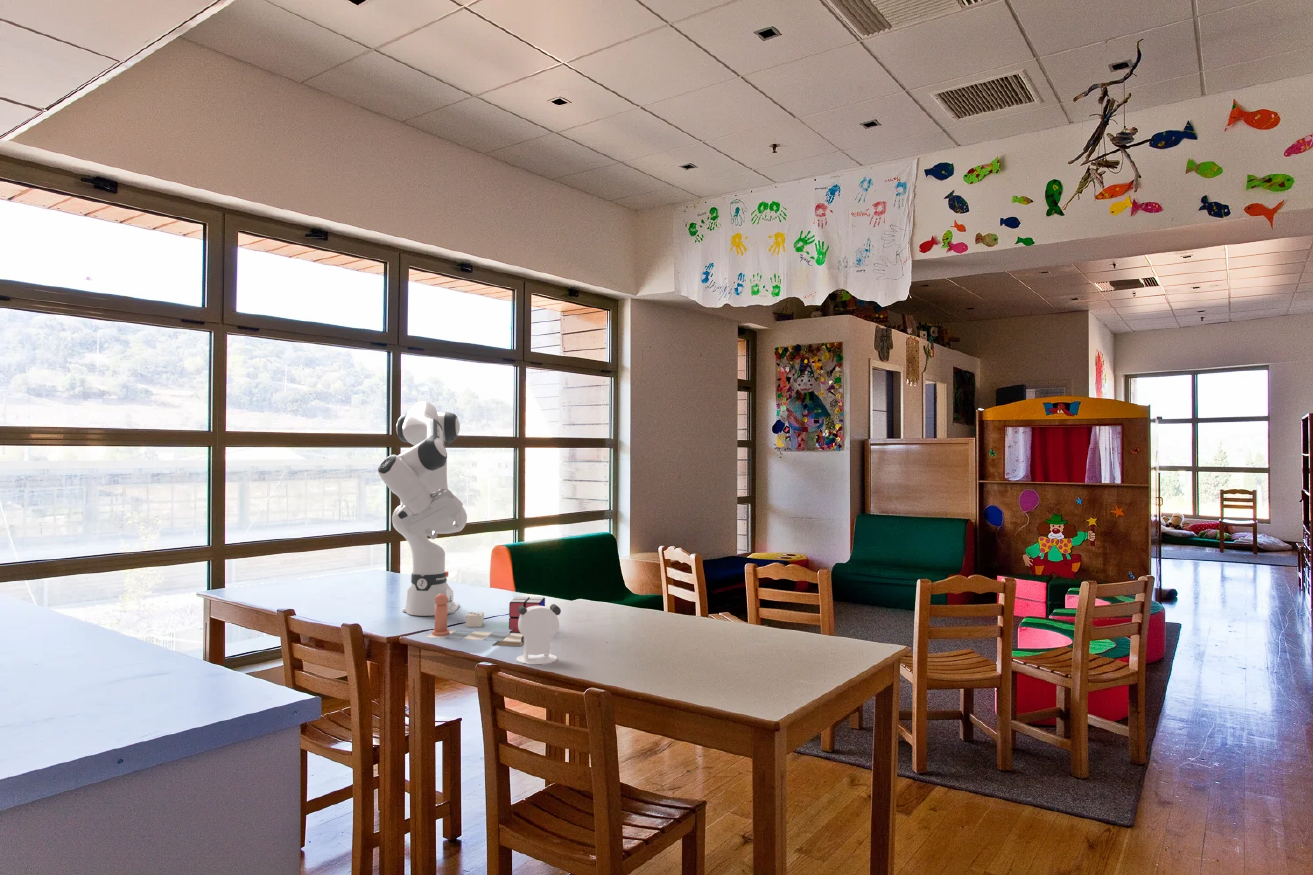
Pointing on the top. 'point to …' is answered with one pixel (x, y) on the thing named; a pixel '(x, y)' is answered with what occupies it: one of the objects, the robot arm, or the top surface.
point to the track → (501, 638)
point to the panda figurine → (537, 633)
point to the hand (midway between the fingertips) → (447, 531)
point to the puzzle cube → (521, 601)
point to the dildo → (441, 615)
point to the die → (474, 619)
